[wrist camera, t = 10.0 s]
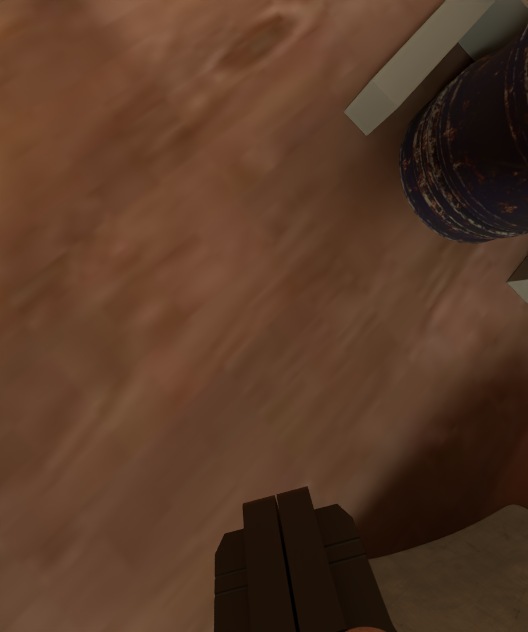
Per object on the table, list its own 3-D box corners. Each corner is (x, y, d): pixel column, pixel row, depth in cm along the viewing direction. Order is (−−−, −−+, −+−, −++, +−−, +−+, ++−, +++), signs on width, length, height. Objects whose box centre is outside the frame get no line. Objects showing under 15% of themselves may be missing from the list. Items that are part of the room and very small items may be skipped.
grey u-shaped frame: (343, 112, 30) (379, 70, 25) (448, 0, 31) (501, -60, 27) (526, 303, 32) (592, 299, 27) (615, 190, 34) (692, 167, 29)
